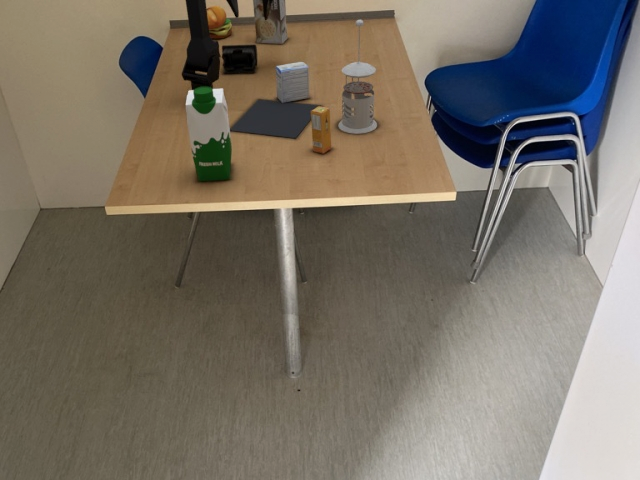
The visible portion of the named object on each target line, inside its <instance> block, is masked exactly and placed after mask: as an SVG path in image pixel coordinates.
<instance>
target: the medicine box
mask: <svg viewBox="0 0 640 480" xmlns="http://www.w3.org/2000/svg"><path fill="white" fill-rule="evenodd" d="M275 79H276V81H275V82H276V98H277V99H278V101H281V102H282V103H285V102H296V101H299V100H305V99H310V67H309V66H308V64H306V63H305V62H303V61H297V62H292V63H285V64H281V65H276V66H275Z"/></svg>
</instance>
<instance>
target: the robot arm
mask: <svg viewBox="0 0 640 480" xmlns="http://www.w3.org/2000/svg"><path fill="white" fill-rule="evenodd" d="M225 1H226V2H227V4H228V6H229V8H230V9H231V11H232V14H233V15H234V17H235V19H238V18H240V17H239V16H240V11H239V1H238V0H225ZM272 2H273V0H262V3H263V12H264V18H265V20H267V19H268V16H269V12H270V8H271V4H272ZM185 6H186V13H187V22H188V26H189V27H188V28H189V34H190V38H189V42H188V44H187V47H186V59H185V62H184V65H183V67H182V70H181V77H182V79H183V81H187V82H190V87H191V90H194V89H196V88H198V87H211V88H212V89H214V83H215V82H216V81H218V80H220V72H221V71H220V70H221V69H220V68H221V58H222V55H221V52H220V44H219V41H217V40H213V38H211V37H210V33H209V25H208V17H207V8H208V7H207V1H206V0H185Z"/></svg>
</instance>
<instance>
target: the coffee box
mask: <svg viewBox="0 0 640 480" xmlns="http://www.w3.org/2000/svg"><path fill="white" fill-rule="evenodd" d="M252 5H253V16H254V26H255V27H254V29H255V39H256V43H257V44H277V45H284V43H285V42H286V41H287V40H288V38H289V37H288V26H287V9H286V0H273V2H272V4H271V8H270V12H269V16H268V19H267V20H265V18H264V12H263V3H262V0H252Z"/></svg>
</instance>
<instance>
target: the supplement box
mask: <svg viewBox="0 0 640 480" xmlns="http://www.w3.org/2000/svg"><path fill="white" fill-rule="evenodd" d="M330 110H331V109H330V108H328V107H324V106H321V107H320V106H318V107H317V108H315V109H314V110H312V111H311V120H310V124H311V136H312V137H311V139H312V151H313V152H315V153H319V154H322V155H324V154H325V153H326V152H328V151H330V150H331V149H332V136H331V135H332V134H331V131H332V130H331V111H330Z"/></svg>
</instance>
